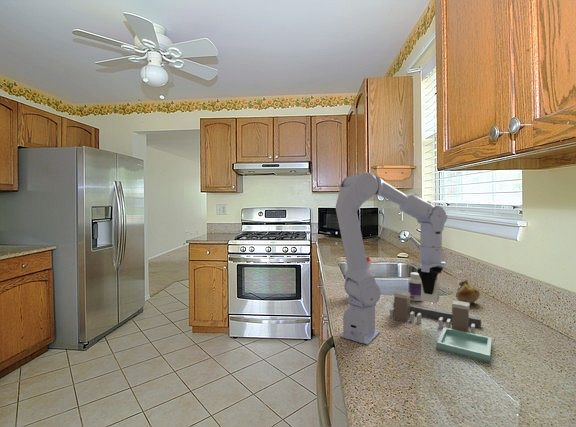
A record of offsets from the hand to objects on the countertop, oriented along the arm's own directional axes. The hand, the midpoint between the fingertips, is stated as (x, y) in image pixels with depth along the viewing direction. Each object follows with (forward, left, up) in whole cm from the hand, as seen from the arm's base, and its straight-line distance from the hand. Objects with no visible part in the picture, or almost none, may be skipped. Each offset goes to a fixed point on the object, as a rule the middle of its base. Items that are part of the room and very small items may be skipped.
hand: (430, 291), depth 89 cm
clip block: (+4, 0, -10) cm, 10 cm away
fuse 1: (0, +8, -10) cm, 13 cm away
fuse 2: (0, -8, -10) cm, 13 cm away
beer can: (+12, +26, -10) cm, 30 cm away
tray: (-10, -10, -10) cm, 17 cm away
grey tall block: (0, 0, -2) cm, 2 cm away
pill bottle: (+22, +9, -10) cm, 26 cm away
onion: (+28, -7, -10) cm, 31 cm away
